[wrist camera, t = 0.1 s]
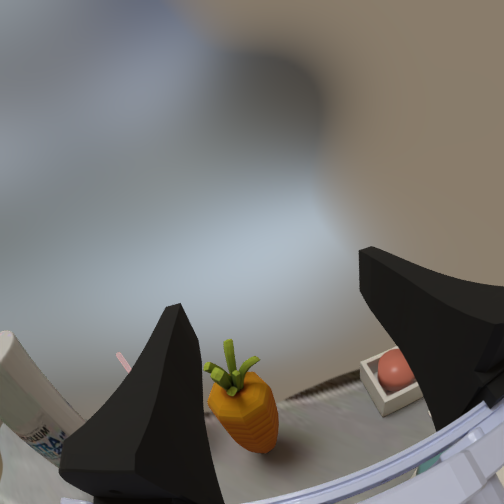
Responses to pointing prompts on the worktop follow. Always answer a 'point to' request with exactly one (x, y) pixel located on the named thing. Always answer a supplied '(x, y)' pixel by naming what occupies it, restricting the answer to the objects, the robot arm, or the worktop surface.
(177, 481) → the robot arm
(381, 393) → the button housing
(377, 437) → the worktop surface
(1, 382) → the spray can
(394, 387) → the button
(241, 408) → the carrot
